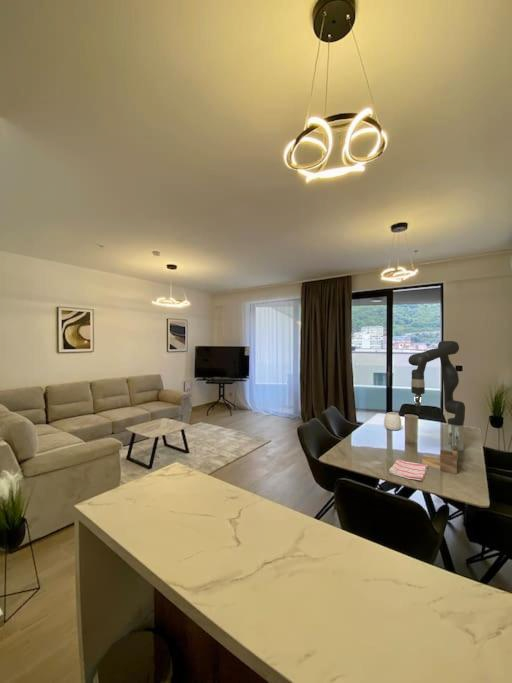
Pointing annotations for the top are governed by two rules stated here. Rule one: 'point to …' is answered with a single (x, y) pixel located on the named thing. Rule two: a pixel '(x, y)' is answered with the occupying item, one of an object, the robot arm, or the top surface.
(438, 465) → the tan rectangular block
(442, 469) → the wooden block holder
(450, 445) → the bracket
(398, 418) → the cup
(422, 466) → the dish towel
